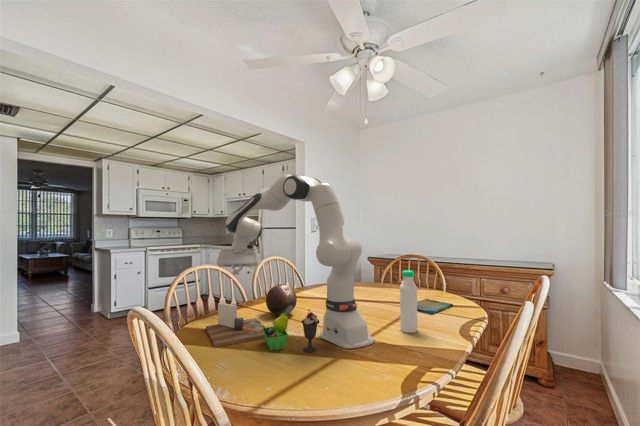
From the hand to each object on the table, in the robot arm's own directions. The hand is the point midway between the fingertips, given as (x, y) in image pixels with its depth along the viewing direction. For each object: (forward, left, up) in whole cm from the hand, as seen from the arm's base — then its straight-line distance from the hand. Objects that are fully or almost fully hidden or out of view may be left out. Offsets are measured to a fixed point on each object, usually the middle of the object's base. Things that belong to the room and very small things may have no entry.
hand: (235, 274), depth 149 cm
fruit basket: (-41, -5, -21) cm, 47 cm away
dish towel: (-33, -94, -21) cm, 102 cm away
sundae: (-51, -14, -21) cm, 57 cm away
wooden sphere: (-8, -20, -21) cm, 30 cm away
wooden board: (-21, +4, -21) cm, 30 cm away
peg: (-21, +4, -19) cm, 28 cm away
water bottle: (-54, -59, -21) cm, 83 cm away
